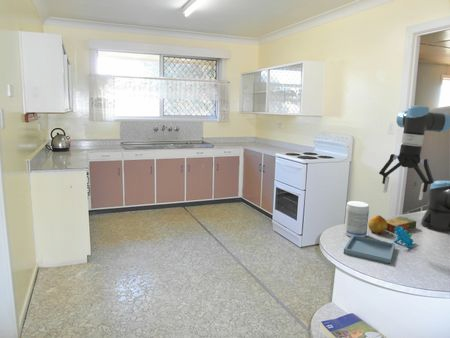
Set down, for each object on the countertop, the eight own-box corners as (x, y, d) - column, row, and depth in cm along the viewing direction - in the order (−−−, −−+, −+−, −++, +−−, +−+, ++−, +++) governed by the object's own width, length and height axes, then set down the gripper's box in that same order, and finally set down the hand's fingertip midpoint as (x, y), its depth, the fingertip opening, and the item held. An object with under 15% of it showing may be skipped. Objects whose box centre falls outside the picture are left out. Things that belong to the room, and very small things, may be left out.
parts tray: (394, 248, 148) (395, 243, 147) (389, 264, 133) (390, 259, 133) (352, 239, 156) (352, 235, 156) (343, 253, 142) (343, 248, 141)
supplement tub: (370, 238, 158) (374, 206, 155) (351, 239, 156) (354, 207, 153) (358, 230, 167) (361, 200, 164) (339, 231, 165) (342, 201, 162)
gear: (406, 247, 145) (393, 225, 150) (394, 253, 149) (382, 231, 154) (419, 245, 151) (407, 224, 156) (408, 251, 155) (396, 230, 160)
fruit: (384, 232, 159) (386, 215, 161) (365, 229, 163) (367, 213, 166) (387, 236, 165) (389, 219, 168) (368, 233, 170) (370, 217, 172)
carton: (379, 228, 171) (380, 220, 170) (400, 223, 179) (401, 215, 178) (395, 234, 164) (396, 225, 163) (415, 228, 172) (417, 220, 171)
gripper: (376, 140, 148) (368, 190, 152) (445, 149, 132) (434, 204, 136) (382, 140, 153) (374, 187, 157) (448, 148, 138) (438, 201, 142)
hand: (402, 195), depth 147 cm, fingers open, 13 cm apart
